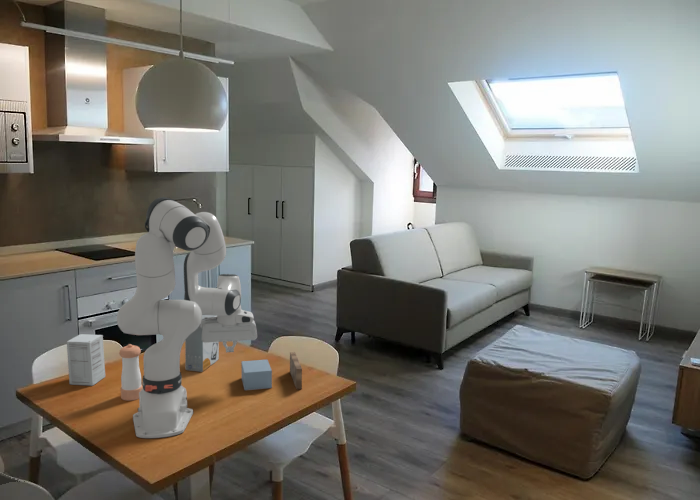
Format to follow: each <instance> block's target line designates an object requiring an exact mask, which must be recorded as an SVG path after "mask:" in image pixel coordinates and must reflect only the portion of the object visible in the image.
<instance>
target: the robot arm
mask: <svg viewBox="0 0 700 500" xmlns="http://www.w3.org/2000/svg"><path fill="white" fill-rule="evenodd" d="M144 227H145V230H146V232H147V233H144V234H142V235H141V236H140V237H139V238H138V239H137V241H136V244H135V251H134V252H135V253H134V264H135V272H136V273H135V274H136V290H135V292H134V295H133V296H132V297H131V298H130V299H129V300H128V301H126V302H125V303H123V304H122V305H121V307H119V310H118V311H117V314H116V323H117V326H118V328H119V330H120V331H121V332H123V334H128V335H133V336H135V335H136V336H152V335H155V336H156V335H161V336H162V339H161V340H160V341H158V342H156V343H154V344H152V345H151V346H149V347H148V348H147V349H146V350H145V351H144V353H143V376H142V381H141V384H142V387H143V389H142V390H141V391H140V392H139V407H137V412H135V413H134V414H132V422H133V426H134V431H135V432H134V433H135V436H136V437H137V438H140V439H160V438H167V437H174V436H177V435H180V434H183V433H184V431H185V430H186V428H187V426H188V424H189V422H190V421H191V418H192V416H193V414H194V410H193V408H189V407H188V397H187V396H188V395H187V394H188V393H187V388H186V387H184V386H183V384H182V380H183V379H182V378H183V377H182V372H181V370H180V367H181V366H180V362H181V352H182V348H183V345H184V343H185V340H186V338H187V337H188V336H189V335H190V334H191V333H192V332H194V331H195V330H196V329H197V328H198V327H199V325H200V326H201V328H202V341H203V342H204V343H207V342H219V343H222V346H223V347H224V348H225V353H234V352H235V347H236V345H237V343H238V342H240V341H242V342H243V341H256V339H257V338H258V331H257V325H256V321H255V320H254V319H255V317H254V314H253V312H252V311H248V310H244V309H242V305H241V299H242V285H241V281H240V276H239V275H238V274H235V273H221V274H219V275H218V276H217V281H216V287H204V286H201V285H199V273H203V272H206V271H211V270H214V269H215V268H217V267H219V266H220V265H221V264H222V263H223V262H224V260H225V258H226V256H227V246H226V245H227V244H226V240H225V236H224V233H223V230H222V227H221V224H220V222H219V220H218V218H217V217H216V216H215V214H213V213H211V212H208V211H201V212H200V211H199V212H196V213H194V212H192V211H191V210H190V209H189V208H188V207H187V206H185V205H184V204H181V203H179V202H178V201H177V200H175V199H172V198H170V197H164V196H163V197H157V198H156V199H154V200H152V201H151V203H150V204H149V206H148V208H147V210H146V217H145V223H144ZM175 247H177V248H178V249H180V250H182V251H187V252H188V253H187V254H186V255H185V258H184V262H183V284H184V285H183V286H184V289H183V290H184V296H183V299H165V298H168V296H169V295H171V294H172V293H173V292H174V290H175V288H176V272H175V262H174V261H175V259H174V251H175ZM202 315H215V316H216V315H217V317H210V318H209V317H205V318H204V319H202ZM228 342H232V346H231V345H230V346H229V345H228V344H227V343H228Z"/></svg>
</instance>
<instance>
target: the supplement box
mask: <svg viewBox="0 0 700 500" xmlns="http://www.w3.org/2000/svg"><path fill="white" fill-rule="evenodd" d="M103 337H104V335H103V334H83V333H80V334H78V335H76V336H74V337H72V338H71V339H69V340H67V341H66V351H67V363H68V364H67V367H68V379H69V380H68V383H69V385H75V386H91V387H92V386H95V384H97V383H98V382H100V381H101V380H103V379H104V378H106V368H105V367H106V366H105V351H104V338H103Z"/></svg>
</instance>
